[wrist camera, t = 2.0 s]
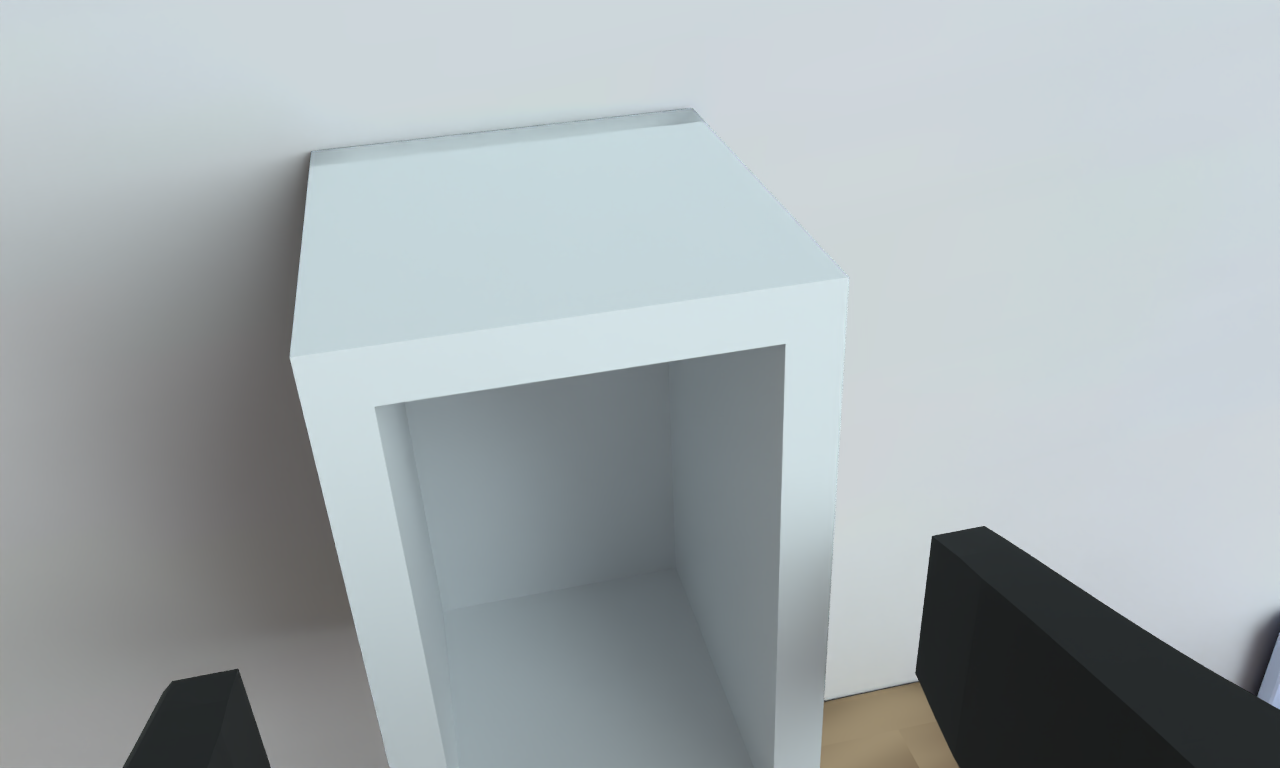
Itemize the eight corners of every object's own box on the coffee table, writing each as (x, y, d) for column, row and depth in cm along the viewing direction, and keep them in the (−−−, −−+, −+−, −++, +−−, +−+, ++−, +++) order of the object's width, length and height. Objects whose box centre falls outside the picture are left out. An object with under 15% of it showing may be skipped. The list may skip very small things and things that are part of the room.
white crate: (692, 108, 15) (848, 277, 10) (702, 566, 19) (815, 836, 14) (311, 150, 14) (289, 356, 9) (409, 620, 18) (428, 925, 13)
